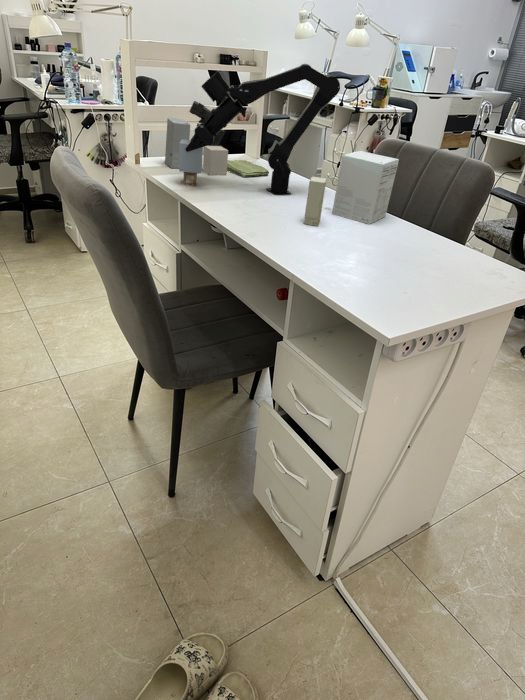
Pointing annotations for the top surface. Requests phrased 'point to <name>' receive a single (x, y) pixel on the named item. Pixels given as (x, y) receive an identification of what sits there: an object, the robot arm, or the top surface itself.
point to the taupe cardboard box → (215, 160)
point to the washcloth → (245, 168)
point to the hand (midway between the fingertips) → (187, 148)
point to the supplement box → (364, 186)
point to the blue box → (190, 158)
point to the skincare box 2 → (314, 200)
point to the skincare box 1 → (175, 140)
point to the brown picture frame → (190, 178)
